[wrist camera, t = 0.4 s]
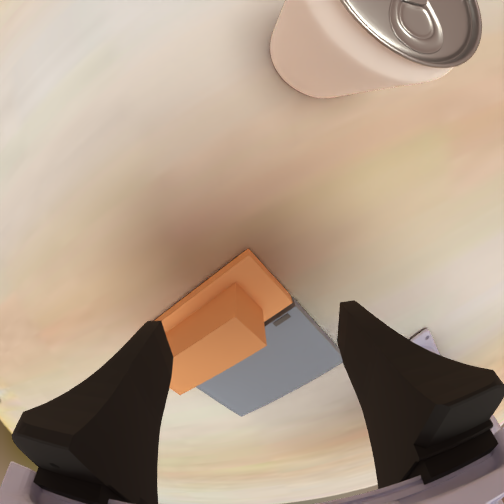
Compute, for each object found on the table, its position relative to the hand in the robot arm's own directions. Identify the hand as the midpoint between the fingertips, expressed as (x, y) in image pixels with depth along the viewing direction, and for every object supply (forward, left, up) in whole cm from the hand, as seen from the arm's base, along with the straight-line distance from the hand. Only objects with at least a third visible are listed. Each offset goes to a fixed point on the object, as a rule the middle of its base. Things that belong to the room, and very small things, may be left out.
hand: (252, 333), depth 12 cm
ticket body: (-10, +6, -10) cm, 16 cm away
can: (+7, -12, -10) cm, 17 cm away
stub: (-3, +6, -10) cm, 12 cm away
